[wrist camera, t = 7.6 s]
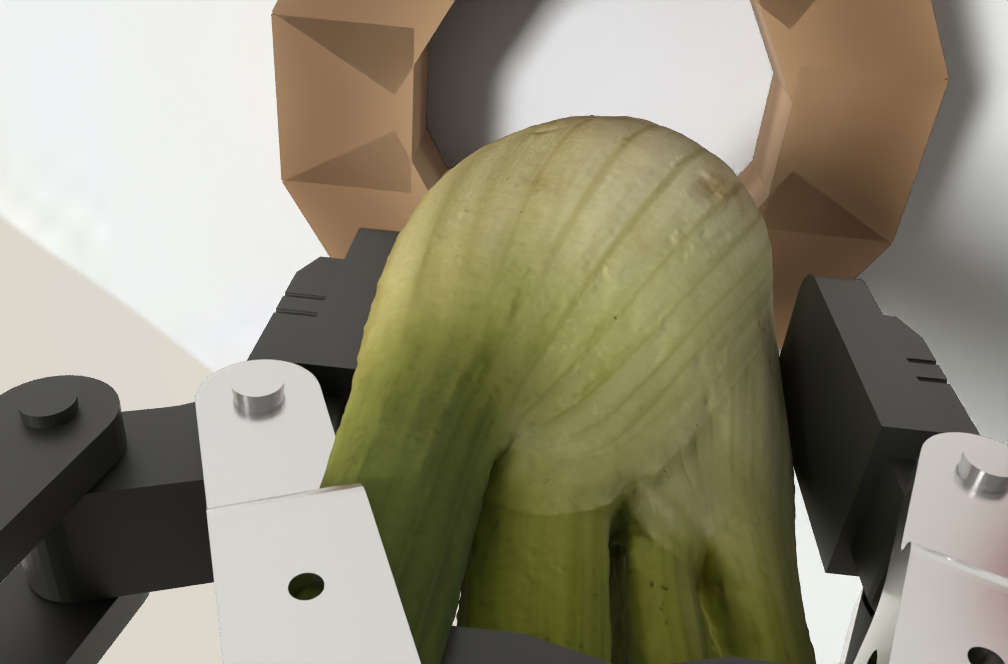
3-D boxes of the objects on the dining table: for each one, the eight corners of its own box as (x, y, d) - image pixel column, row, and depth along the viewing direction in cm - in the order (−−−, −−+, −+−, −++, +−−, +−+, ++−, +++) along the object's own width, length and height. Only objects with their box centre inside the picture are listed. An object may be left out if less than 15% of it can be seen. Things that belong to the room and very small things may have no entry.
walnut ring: (1000, -217, 17) (1050, -214, 16) (812, 372, 25) (831, 421, 23) (287, -281, 18) (252, -285, 16) (314, 319, 25) (292, 363, 23)
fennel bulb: (401, 141, 15) (35, 882, 5) (671, 1, 14) (912, 662, 4) (556, 392, 18) (516, 1219, 8) (799, 297, 16) (1151, 1176, 6)
